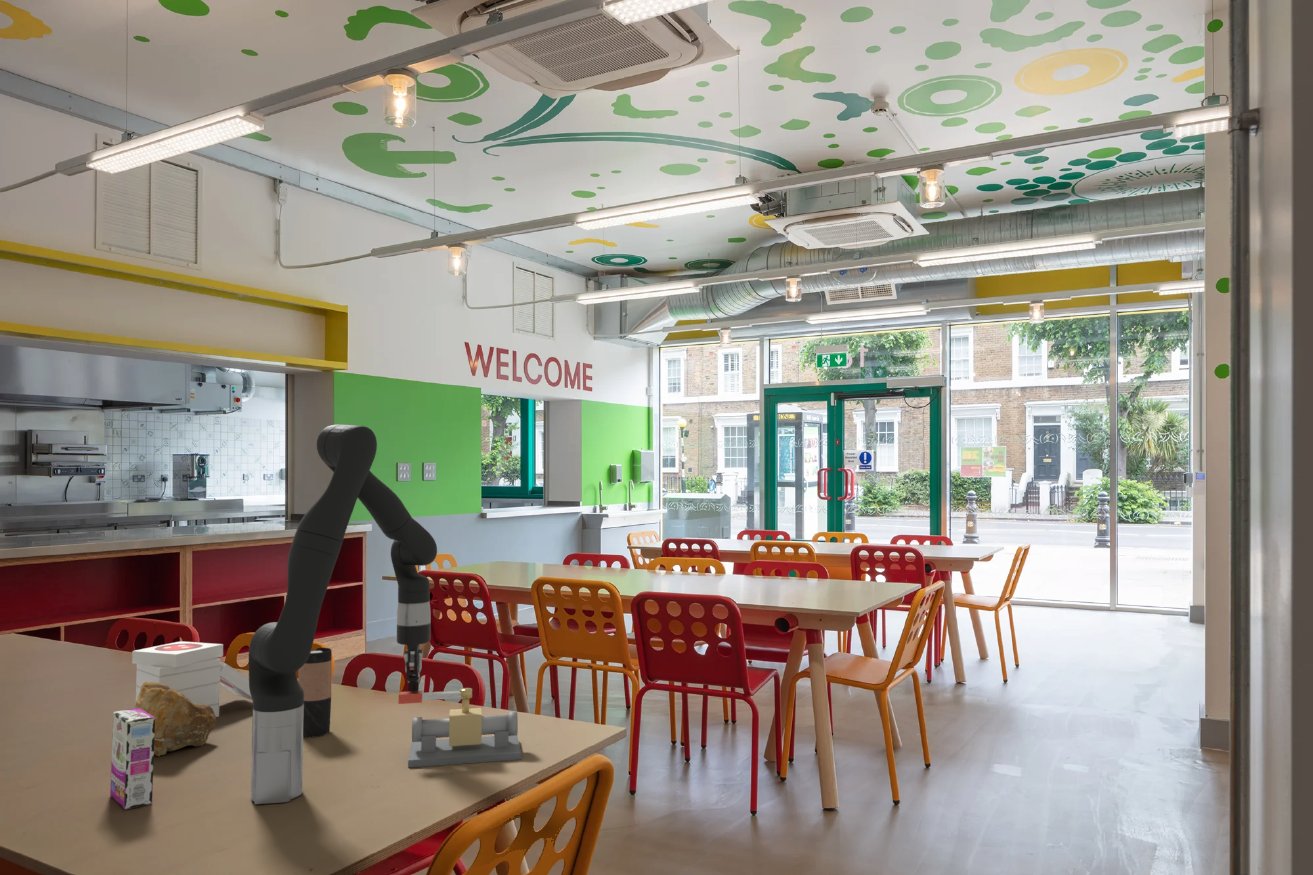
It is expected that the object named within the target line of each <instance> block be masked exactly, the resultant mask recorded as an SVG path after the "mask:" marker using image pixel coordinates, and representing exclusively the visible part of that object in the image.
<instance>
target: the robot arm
mask: <svg viewBox="0 0 1313 875" xmlns="http://www.w3.org/2000/svg"><path fill="white" fill-rule="evenodd" d="M377 448H378V442H377V436H376V434H375V432H374V431H373V430H372V428H369V427H368V426H364V425H357V424H356V425H355V424H332V425H328V426H326V427H325V428H323V429H322V430H321V431H320V433H319V434H318V436H317V439H316V449H317V453H318V456H319V458H320V459H321V460H322V462H323V463H324V464H325V466H326V467H328V468H329V469H330V470H331V471H332V472H333V474H332V478H331V480H330V481H329V484H328V485H327V488H326V489H325V490H324V492H323V493H322V494H321V496H319V498H318V499H317V500H316V501H315V502H314V504H312V505H311V507H310V508H309V509H308V510H307V511H306V513H305V514H304V515H303V516H302V518H301V520H300V521H299V523H298V526H297V527H296V531H295V533H294V536H293V540H292V542H291V545H290V548H289V551H288V556H287V588H286V590H287V591H286V598H285V600H284V604H283V607H282V610H281V612H280V616H279V617H278V620H277V621H276V622H275V621H273V622H268V623H265V624H263V625H262V626H259V628H258V629H256V631H255V632H254V634H253V635H252V636H251V640H250V642H249V648H248V679H249V689H250V694H251V697H252V700H251V701H252V719H251V720H252V722H251V723H252V725H251V726H252V727H251V766H250V767H251V770H250V772H251V773H250V775H251V776H250V779H251V781H250V800H251V801H252V802H254V805H263V804H264V805H267V804H278V803H279V804H280V803H289V802H290V801H292V800H293V799H295V798H297V797H299V796H301V795H302V793H303V774H304V773H303V772H304V771H303V769H304V768H303V766H304V765H303V764H304V763H303V759H304V753H303V752H304V737H303V717H304V692H303V689H302V688H301V686H300V684H299V682H298V677H297V671H299V669H300V668H301V667H302V666H303V665H304V664H305V662H306V661H307V659H308V657H309V655H310V652H311V651H312V649H313V644H314V640H315V635H316V631H317V627H318V622H319V618H320V613H321V609H322V606H323V602H324V599H325V596H326V593H327V590H328V587H329V583H330V580H331V578H332V575H333V571H334V568H335V565H336V563H337V560H338V557H339V554H340V551H341V549H342V545H343V542H344V538H345V535H346V532H347V531H346V530H347V529H348V526H349V522H350V519H351V517H352V515H353V512H354V508H355V505H356V503H357V500H359V501H360V502H361V504H362V505H363V506H364V507H365V508H366V510H367V511H368V513H369V514H370V515H371V517H372V519H373V520H374V522H375V523H376V525H377V526H378V528H379V529H380V531H381V532H382V533H383V534H384V535H385V537H387V539H390V540H393V542H392V544H391V547H390V560H391V563H392V568H393V570H394V575H395V579H396V581H397V609H396V643H397V644H398V645H402V646H405V645H406V646H407V649H405V650H404V654H403V655H404V656H403V661H404V662H405V663H404V664H405V665H404V667H405V668H404V670H405V673H406V681H407V683H408V684H407V686H408V688H407V692H409V691H420V687H419V686H420V684H419V683H420V682H419V681H420V679H421V676H420V675H421V672H422V668H423V667H422V666H423V665H422V664H423V663H422V662H423V656H424V649H420V645H424V644H428V643H429V642H430V641H431V635H432V634H431V630H432V629H431V628H432V627H431V625H432V624H431V622H432V621H431V620H432V619H431V615H432V614H431V603H430V595H431V594H430V593H431V592H430V591H431V590H430V580H429V578H428V577H427V576H425V575H423V574H420V573H419V572H418V570H417V566H420V567H423V566H428V565H430V564H433V563H434V561H435V559H436V558H437V554H438V547H437V544H436V543H437V542H436V540H435V539H434V537H433V536H432V534H431V533H430V532H429V531H428V530H427V529H426V528H424V526H422V525H421V524H420V523H419V522H418V521H417V520H415V519H414V518H413V517H412V516H411V514H410V512H409V510H408V509H407V508H406V506H405V505H404V503H403V501H402V500H401V499H400V498H399V496H398V495H397V493H395V492H394V491H393V490H392V489H391V488H390V487H389V486H387V485H386V484H385V483H384V482H382V481H381V480H380V479H379V478H378V477H377V476H376V475H375V474H374V473H373V472H372V471H371V468H372V466H373V463H374V460H375V458H376V454H377Z"/></svg>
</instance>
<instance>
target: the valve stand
mask: <svg viewBox="0 0 1313 875" xmlns="http://www.w3.org/2000/svg"><path fill="white" fill-rule="evenodd" d="M411 722H412V723H411V728H412V729H411V743H410V747H409V748H410V749H409V755H408V759H407V768H420V767H431V766H432V767H433V766H445V765H446V766H447V765H460V764H461V765H462V764H463V765H464V764H476V763H487V762H488V763H491V762H503V761H506V762H507V761H516V760H518V761H519V760H522V751H521V747H520V741H519V736H518V728H519V724H518V722H519V720H518V711H508V712H507V714H502V715H501V714H500V715H484V716H482V707H475V708H474V707H473V708H470V698H469V699H461V708H456V709H449V718H434V719H432V718H431V719H423V717H422V716H421V717H420V716H419V717H417V716H416V717H412V721H411ZM487 735H488V736H487ZM489 735H491V736H489ZM492 735H493V736H492ZM439 738H443V739H439ZM444 738H447V739H444Z"/></svg>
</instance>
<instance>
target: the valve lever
mask: <svg viewBox="0 0 1313 875" xmlns="http://www.w3.org/2000/svg"><path fill="white" fill-rule="evenodd" d="M472 698H473V688H471V687H461V688H459V690H450V691H449V690H447V691H433V692H432V691H431V692H423V690H419V691H409V692H408V691H399V693H398V705H402V704H404V705H405V704H418V703H420V704H422V703H423V701H434V700H435V701H436V700H449V699H450V700H451V699H452V700H453V699H461V700H462V699H469V700H470V699H472Z"/></svg>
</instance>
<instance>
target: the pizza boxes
mask: <svg viewBox="0 0 1313 875" xmlns="http://www.w3.org/2000/svg"><path fill="white" fill-rule="evenodd" d="M131 653H132V655H131V660H132V661H131V664H132V665H135V664H136V676H135V677H136V683H135V685H136V687H135V689H136V690H135V702H136V701H137V698H138V695H139V692H140V689H141V686H142V684H143V683H145V682H156V683H160V684H163V685H167V686H169V688H170V689H173V690H175V691H177V692H180V693H182V694H183V695H185V697H186V698H188V699H189V700H190V701H191V702H192V703H193V704H194V703H197V704H202V705H209V706H210V707H211V708H212V709H213V711H214V713H215V716H216V718H218V717H220V693H221V692H220V691H221V690H220V688H221V686H223V687H224V688H225V689H227V690H228V691H230V692H231V693H233V694H235V695H236V696H239V697H243V698H245V699H248V700H250V701H253V700H252V697H251V694H250V689H249V677H247V676H245V675H243V673H241V672H239V671H238V670H236V669H235V668H234V667H232V666H231V665H229V664H227V663H225V662H222V661H221V659H220V658H221V657H223V656H224V644H223V643H210V642H195V641H175V642H170V643H165V644H160V645H155V646H151V647H146V648H141V649H136V650H133V651H132V650H131Z"/></svg>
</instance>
